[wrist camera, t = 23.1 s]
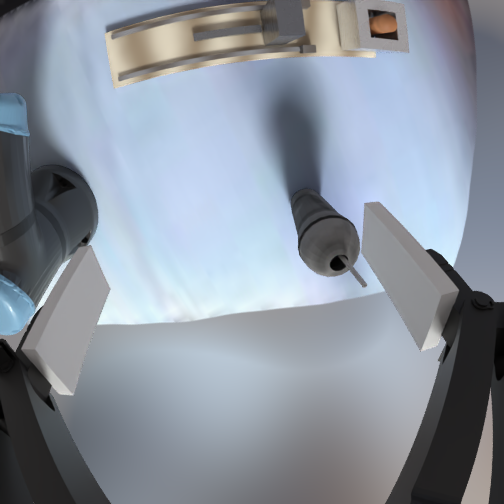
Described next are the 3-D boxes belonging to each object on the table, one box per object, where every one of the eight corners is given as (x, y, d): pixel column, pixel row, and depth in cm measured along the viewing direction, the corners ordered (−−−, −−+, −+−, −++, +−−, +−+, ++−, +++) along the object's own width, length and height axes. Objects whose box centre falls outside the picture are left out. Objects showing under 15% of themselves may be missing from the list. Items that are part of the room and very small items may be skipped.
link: (341, 50, 31) (360, 48, 26) (336, 5, 28) (354, -4, 23) (385, 53, 32) (409, 52, 26) (381, 10, 28) (403, 4, 23)
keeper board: (116, 87, 33) (89, 93, 26) (107, 34, 29) (78, 27, 21) (372, 57, 33) (407, 57, 26) (366, 5, 29) (399, -6, 21)
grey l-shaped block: (196, 55, 31) (186, 47, 22) (191, 21, 29) (180, 3, 20) (284, 44, 31) (305, 35, 22) (280, 11, 29) (299, -9, 20)
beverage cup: (273, 191, 43) (306, 278, 27) (320, 171, 42) (382, 246, 26) (291, 232, 47) (327, 328, 31) (335, 213, 46) (391, 300, 29)
